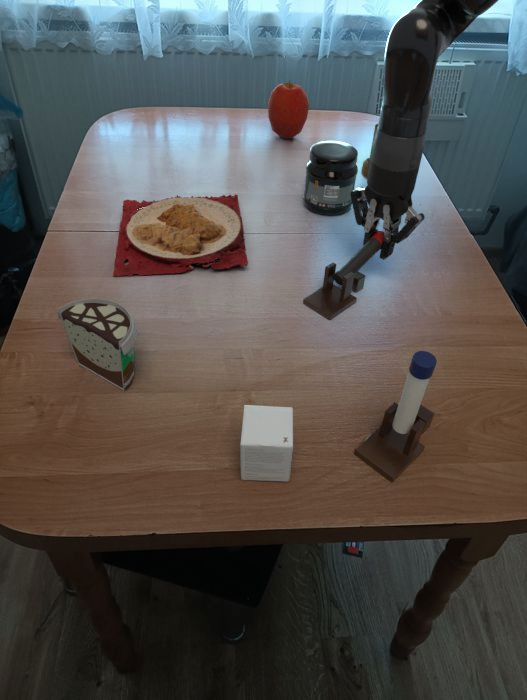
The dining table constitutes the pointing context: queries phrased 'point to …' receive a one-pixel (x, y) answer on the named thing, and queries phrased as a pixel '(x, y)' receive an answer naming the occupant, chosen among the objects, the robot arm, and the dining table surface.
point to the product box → (266, 443)
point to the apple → (288, 110)
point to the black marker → (360, 257)
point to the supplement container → (330, 177)
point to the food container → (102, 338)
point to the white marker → (414, 390)
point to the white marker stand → (394, 444)
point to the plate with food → (180, 235)
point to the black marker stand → (335, 293)
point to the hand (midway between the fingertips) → (376, 253)
